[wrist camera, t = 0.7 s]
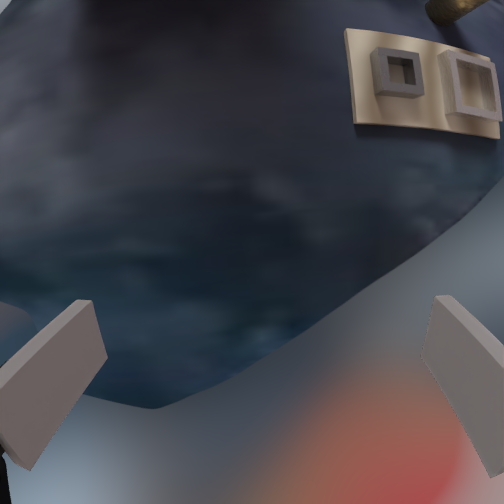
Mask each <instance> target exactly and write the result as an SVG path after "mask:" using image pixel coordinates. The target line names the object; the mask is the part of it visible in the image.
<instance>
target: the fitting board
mask: <svg viewBox="0 0 504 504" xmlns="http://www.w3.org/2000/svg"><path fill="white" fill-rule="evenodd" d="M344 39H345V46H346V53H347V61H348V69H349V78H350V88H351V99H352V110H353V124H371V125H388V126H402V127H413V128H423V129H432V130H440V131H448V132H455V133H462V134H469V135H475V136H481V137H486V138H492V139H500V131H499V122H502V110H501V101H500V94H499V87H498V80H497V75H496V69H495V64H494V63H492V62H490V58H488V57H485V56H482V55H479V54H476V53H473V52H470V51H466V50H463V49H459V48H456V47H452V46H448V45H444V44H440V43H436V42H432V41H427V40H423V39H418V38H413V37H408V36H402V35H396V34H390V33H383V32H375V31H367V30H358V29H347V28H346V30H345V31H344Z"/></svg>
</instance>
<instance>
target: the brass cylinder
mask: <svg viewBox="0 0 504 504" xmlns="http://www.w3.org/2000/svg"><path fill="white" fill-rule="evenodd" d="M487 1H489V0H429V1H428V2H427V3H426V5H425V9H426V12H427V14H428V16H429V17H430V19H431V20H432V21H434V22H435V23H436V24H438V25H440V26H444V27H447V26H449V25H451V24H452V23H454V22H455V21H457V20H458V19H460V18H461V17H463V16H465V15H466V14H468V13H469V12H471V11H472V10H474V9H476V8H477V7H479V6H481V5H482V4H484V3H485V2H487Z"/></svg>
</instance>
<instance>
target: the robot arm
mask: <svg viewBox="0 0 504 504" xmlns="http://www.w3.org/2000/svg"><path fill="white" fill-rule="evenodd" d="M420 357H421V358H422V360H423V361H424V363H425V364H426V366H427V368H428V369H429V371H430V372H431V374H432V375H433V377H434V379H435V380H436V382H437V383H438V385H439V387H440V388H441V390H442V391H443V393H444V395H445V397H446V398H447V400H448V401H449V403H450V405H451V407H452V408H453V410H454V411H455V413H456V415H457V417H458V419H459V420H460V422H461V424H462V425H463V427H464V429H465V431H466V433H467V435H468V436H469V438H470V440H471V442H472V444H473V445H474V447H475V449H476V451H477V453H478V455H479V457H480V459H481V461H482V463H483V464H484V466H485V468H486V471H487V472H488V475H489V476H490V478H492V477H494V476H497V475H499V474H501V473H503V472H504V345H503V344H502V343H501V342H500V341H499V340H498V339H497V338H495V336H494V335H493V334H491V332H489V330H487V329H486V328H485V327H484V326H483V325H482V324H481V323H480V322H479V321H478V320H477V319H476V318H475V317H474V316H473V315H472V314H471V313H470V312H468V311H467V310H466V309H465V308H464V307H463V306H462V305H461V304H460V303H458V301H456V300H455V299H454V298H453V297H452V296H451V295H442V296H434V300H433V305H432V310H431V315H430V319H429V324H428V328H427V332H426V336H425V340H424V344H423V348H422V352H421V355H420ZM107 358H108V357H107V354H106V351H105V347H104V344H103V341H102V337H101V334H100V330H99V326H98V323H97V319H96V315H95V311H94V307H93V303H92V300H76V301H75V302H74V303H72V304H71V305H70V306H69V307H68V308H66V309H65V310H64V311H63V312H62V313H61V314H59V315H58V316H57V317H56V318H55V319H54V320H53V321H51V322H50V323H49V324H48V325H47V326H46V327H45V328H43V329H42V330H41V331H40V332H39V333H38V334H37V335H36V336H34V337H33V338H32V339H31V340H30V341H29V342H28V343H27V344H26V345H24V347H22V348H21V349H20V350H19V351H18V352H17V353H16V354H15V355H14V356H13V357H12V358H11V359H9V360H8V361H6V362H5V363H4V364H3V365H2V366H1V367H0V504H11V498H10V492H9V485H8V477H7V469H6V463H5V460H4V459H3V457H2V454H3V453H4V452H6V453H7V454H8V456H9V457H10V458H11V459H12V461H13V462H14V463H15V464H17V465H19V466H21V467H23V468H25V469H27V470H29V471H31V469H32V468H33V466H34V465H35V463H36V461H37V460H38V458H39V457H40V455H41V454H42V452H43V451H44V449H45V448H46V446H47V444H48V443H49V441H50V440H51V438H52V437H53V435H54V434H55V432H56V431H57V429H58V428H59V426H60V425H61V423H62V422H63V420H64V419H65V417H66V416H67V415H68V413H69V412H70V410H71V409H72V407H73V406H74V405H75V403H76V402H77V400H78V399H79V397H80V396H81V395H82V393H83V392H84V390H85V389H86V387H87V386H88V385H89V383H90V382H91V380H92V379H93V378H94V376H95V375H96V373H97V372H98V371H99V369H100V368H101V367H102V365H103V364H104V362H105V361H106V360H107Z"/></svg>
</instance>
